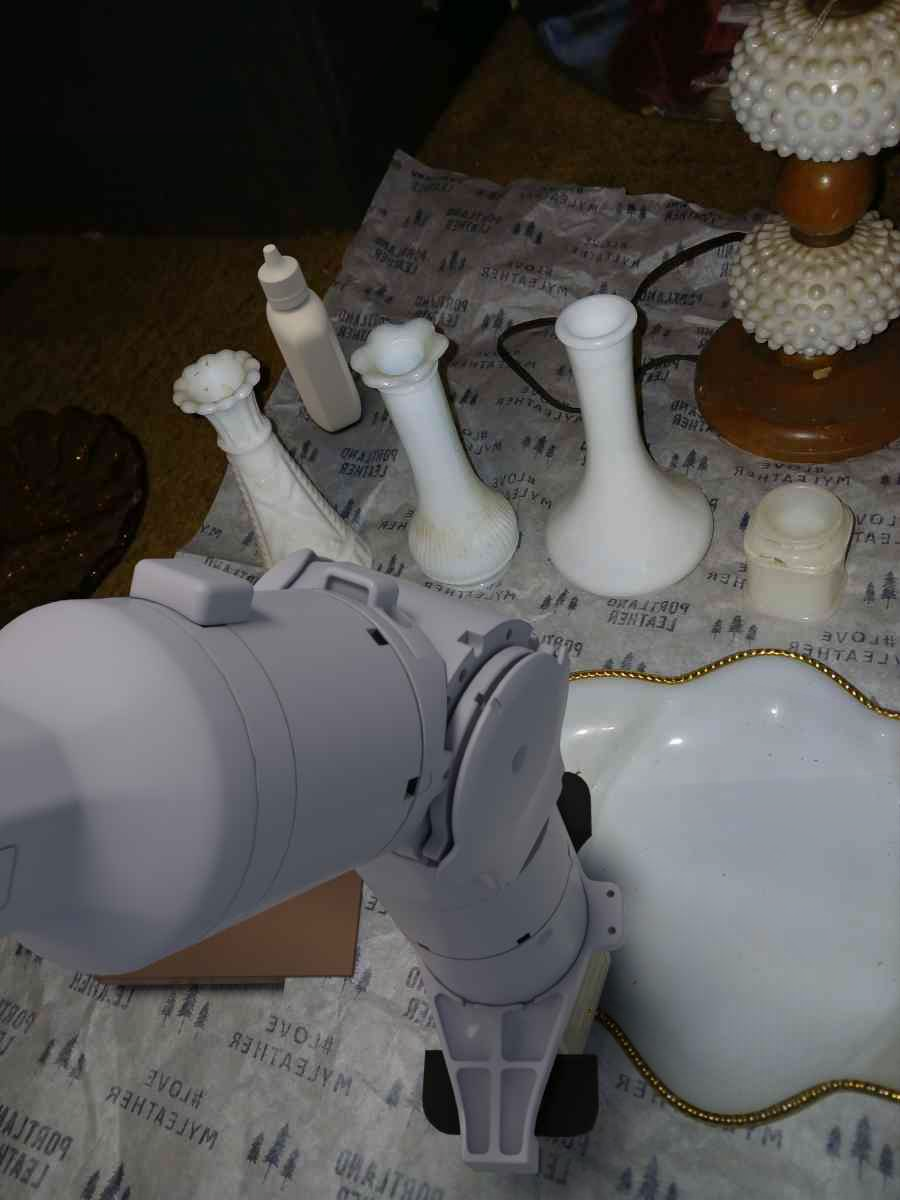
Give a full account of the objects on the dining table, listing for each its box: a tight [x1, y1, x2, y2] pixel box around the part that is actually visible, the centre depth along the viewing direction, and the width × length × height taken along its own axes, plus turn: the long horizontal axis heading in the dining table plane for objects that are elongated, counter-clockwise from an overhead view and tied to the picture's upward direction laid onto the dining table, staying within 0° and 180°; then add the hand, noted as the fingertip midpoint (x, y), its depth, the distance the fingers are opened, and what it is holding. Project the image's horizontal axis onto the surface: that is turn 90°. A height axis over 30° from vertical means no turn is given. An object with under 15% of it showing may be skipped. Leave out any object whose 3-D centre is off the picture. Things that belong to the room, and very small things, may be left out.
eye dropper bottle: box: [257, 244, 362, 433], centre depth 64 cm, size 4×6×12 cm
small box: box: [557, 951, 612, 1054], centre depth 41 cm, size 5×4×8 cm
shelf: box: [92, 869, 365, 986], centre depth 50 cm, size 14×12×5 cm
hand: (542, 995), depth 42 cm, fingers open, 7 cm apart
